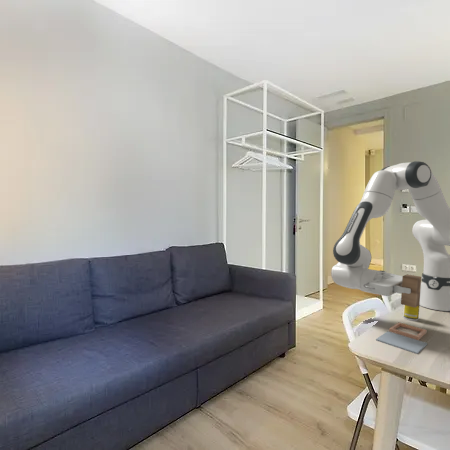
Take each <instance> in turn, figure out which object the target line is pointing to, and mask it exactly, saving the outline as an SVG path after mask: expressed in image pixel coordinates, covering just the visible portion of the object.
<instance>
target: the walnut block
mask: <svg viewBox="0 0 450 450" xmlns="http://www.w3.org/2000/svg"><path fill="white" fill-rule="evenodd" d="M402 276H403V278H402V287H405V288H406V287H408V288H411V289H412V293H410V294H407V293H400V294H401V296H400V297H401V298H400V305H406V306H411V307H417V306H419V307H420V290H421V282H422V276H419V275H414V274H413V275H412V274H405V275H402Z"/></svg>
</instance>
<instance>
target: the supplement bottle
mask: <svg viewBox="0 0 450 450" xmlns="http://www.w3.org/2000/svg"><path fill="white" fill-rule="evenodd" d="M402 308H403V309H402V318H403V319H404V320H408V321H413V322H416V321H419V317H420V316H419V315H420V305H419V306H417V307H411V306H406V305H403V306H402Z"/></svg>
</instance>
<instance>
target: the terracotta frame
mask: <svg viewBox="0 0 450 450" xmlns="http://www.w3.org/2000/svg"><path fill="white" fill-rule="evenodd" d="M399 327H401V328H399ZM398 328H399V329H398ZM388 331H389V332H392V333H396V334H399V335H402V336H405V337H409V338H412V339H415V340H419V341H420V339H422V337H424V336H425V335H426V334H427V329H425V328H421V327H417V326H415V325H411V324H406V323H404V322H403V323H402V322H396V323H395V324H393V325H392V326H391V327H390V328H389V329H388ZM418 332H419V333H418Z"/></svg>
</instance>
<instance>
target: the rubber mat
mask: <svg viewBox="0 0 450 450" xmlns="http://www.w3.org/2000/svg"><path fill="white" fill-rule="evenodd" d="M375 340H376V341H377V342H380V343H383V344H386V345H388V346H392V347H395V348H398V349H400V350H404V351H407V352H410V353H412V354H415V355H418V354H419V353H420V352H421V351H422V350H423V349H424V348H425V347H426V346H427V345H428V343H427V342H425V341H421V340H420V339H419V340H416V339H413V338H410V337H406V336H403V335H400V334H396V333H393V332H390V331H389V330H388V331H386V332H384V333H383V334H381V335H379V337H376V339H375Z"/></svg>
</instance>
